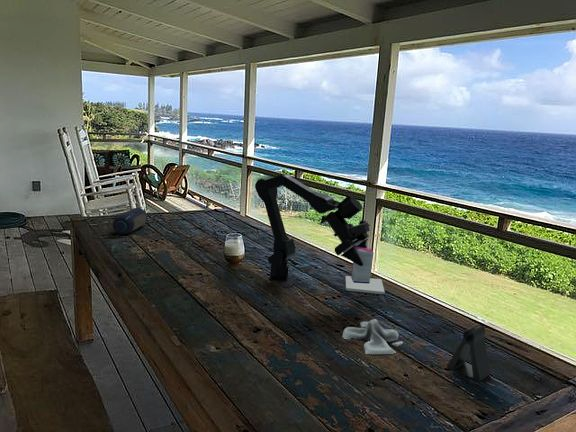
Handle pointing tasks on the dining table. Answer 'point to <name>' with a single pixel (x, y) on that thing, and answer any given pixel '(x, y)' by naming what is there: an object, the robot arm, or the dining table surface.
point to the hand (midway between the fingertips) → (366, 263)
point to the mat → (365, 286)
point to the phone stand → (479, 358)
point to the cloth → (373, 337)
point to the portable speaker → (129, 220)
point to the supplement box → (363, 272)
